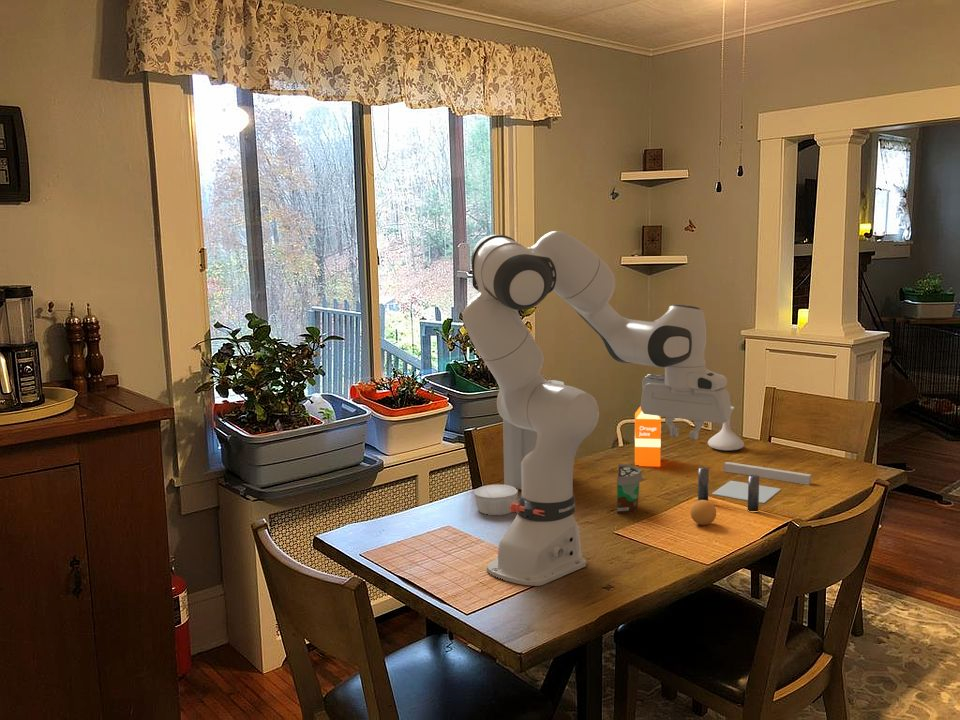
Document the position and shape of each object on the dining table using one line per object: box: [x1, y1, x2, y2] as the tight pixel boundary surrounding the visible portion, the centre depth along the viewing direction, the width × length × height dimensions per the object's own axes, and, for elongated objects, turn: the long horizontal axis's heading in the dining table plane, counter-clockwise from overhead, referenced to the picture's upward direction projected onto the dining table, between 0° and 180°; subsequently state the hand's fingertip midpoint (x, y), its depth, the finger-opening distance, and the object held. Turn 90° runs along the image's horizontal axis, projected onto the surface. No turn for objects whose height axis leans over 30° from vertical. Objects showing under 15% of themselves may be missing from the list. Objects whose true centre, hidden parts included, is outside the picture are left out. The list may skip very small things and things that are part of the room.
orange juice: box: [634, 405, 662, 467], centre depth 248 cm, size 8×9×20 cm
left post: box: [697, 466, 710, 501], centre depth 211 cm, size 3×3×9 cm
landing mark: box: [711, 480, 782, 504], centre depth 219 cm, size 14×14×1 cm
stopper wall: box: [723, 461, 812, 486], centre depth 231 cm, size 2×24×2 cm, turn 52°
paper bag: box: [502, 379, 565, 490], centre depth 227 cm, size 19×15×28 cm
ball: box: [690, 500, 717, 526], centre depth 195 cm, size 6×6×6 cm
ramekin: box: [473, 484, 519, 516], centre depth 209 cm, size 11×11×5 cm
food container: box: [616, 463, 643, 515], centre depth 207 cm, size 12×6×10 cm, turn 168°
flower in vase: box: [707, 373, 745, 451], centre depth 260 cm, size 13×11×25 cm
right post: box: [747, 475, 760, 512], centre depth 203 cm, size 3×3×9 cm
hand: (684, 437), depth 182 cm, fingers open, 3 cm apart
